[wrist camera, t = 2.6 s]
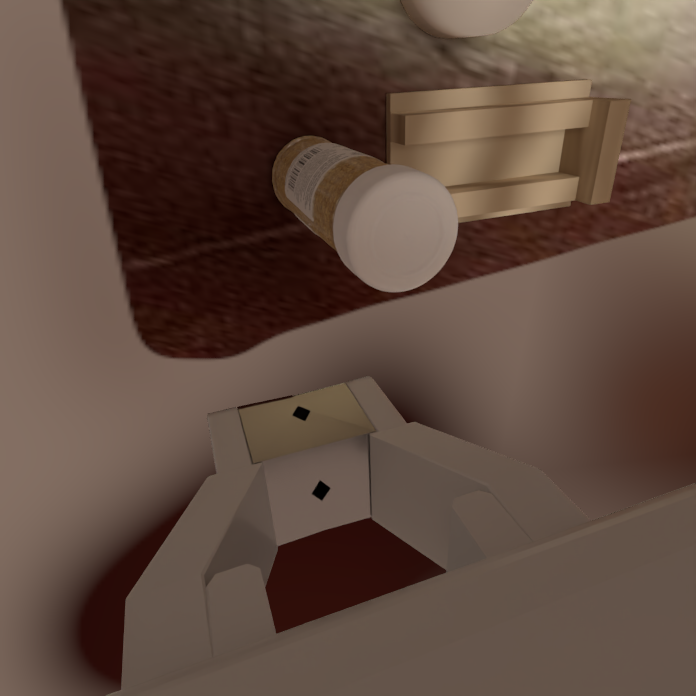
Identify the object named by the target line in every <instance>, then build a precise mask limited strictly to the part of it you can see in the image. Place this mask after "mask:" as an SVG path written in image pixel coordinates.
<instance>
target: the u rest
mask: <svg viewBox="0 0 696 696" xmlns="http://www.w3.org/2000/svg"><path fill="white" fill-rule="evenodd" d="M591 83H592V80H588V79H585V80H570V81H556V82H542V83H528V84H513V85H499V86H485V87H471V88H456V89H442V90H428V91H414V92H399V93H386V144H387V164H388V165H391V164H396V165H404V166H408V167H411V168H413V169H416V170H419V171H421V172H424V173H426V174H428V175H430V176H432V177H434V178H435V179H437V180H438V181H440V182H441V183H442V184H443V185H444V186H445V187H446V189H447V190H448V191H449V193H450V194H451V196H452V198H453V200H454V203H455V206H456V209H457V215H458V223H461V222H468V221H474V220H481V219H488V218H494V217H501V216H507V215H514V214H520V213H527V212H534V211H540V210H547V209H553V208H560V207H567V206H570V203H571V201H574V200H576V201H579V202H583V203H586V204H589V205H593V204H599V203H606V202H609V201H610V196H611V192H612V187H613V182H614V177H615V173H616V168H617V163H618V159H619V154H620V149H621V144H622V140H623V135H624V130H625V126H626V121H627V116H628V111H629V107H630V102H631V99H615V98H597V97H589V95H590V89H591Z"/></svg>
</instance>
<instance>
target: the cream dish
mask: <svg viewBox="0 0 696 696" xmlns="http://www.w3.org/2000/svg"><path fill="white" fill-rule="evenodd" d="M400 1H401V3H402V5H403V7H404V9H405V11H406V13H407V14H408V16H409V17H410V19H411V20H412V21H413V22H414V23H415V24H416V25H417V26H418V27H419V28H420V29H421V30H423V31H424V32H426V33H427V34H429V35H432V36H434V37H438V38H442V39H454V38H464V37H475V36H485V35H491V34H494V33H498V32H500V31H502V30H504V29H506V28H507V27H509V26H510V25H512V24H513V23H514V22H515V21H516V20H517V19H519V18H520V17H521V15H522V14H523V13H524V12H525V11H526V10H527V8H528V7H529V5H530V4H531V3H532V1H533V0H400Z"/></svg>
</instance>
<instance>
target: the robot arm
mask: <svg viewBox="0 0 696 696" xmlns="http://www.w3.org/2000/svg"><path fill="white" fill-rule="evenodd" d="M207 420H208V426H209V432H210V437H211V444H212V449H213V455H214V461H215V466H216V473H217V474H216V475H212V476H209V477H207V479H206V480H205V482H204V483H203V485H202V486H201V488H200V489H199V491H198V492H197V494H196V496H195V497H194V498H193V500H192V501H191V503H190V504H189V506H188V507H187V509H186V510H185V512H184V513H183V515H182V516H181V518H180V519H179V521H178V522H177V524H176V525H175V527H174V528H173V530H172V531H171V533H170V534H169V536H168V537H167V539H166V540H165V542H164V543H163V544H162V546H161V548H160V549H159V551H158V552H157V553H156V555H155V556H154V558H153V560H152V561H151V563H150V564H149V565H148V567H147V568H146V570H145V571H144V573H143V574H142V576H141V577H140V579H139V580H138V582H137V583H136V585H135V586H134V588H133V589H132V591H131V592H130V594H129V595H128V597H127V598H126V608H125V628H124V648H123V667H122V688H121V690H120V691H118V692H114V693H112V694H109V695H106V696H696V483H695V484H692V485H689V486H687V487H684V488H681V489H678V490H675V491H672V492H669V493H667V494H664V495H661V496H658V497H655V498H653V499H650V500H647V501H644V502H642V503H639V504H636V505H633V506H631V507H628V508H625V509H622V510H620V511H617V512H614V513H611V514H608V515H606V516H603V517H600V518H597V519H595V520H592V521H591V520H590V519H589V518H588V517H587V516H586V515H585V514H584V513H583V512H582V511H581V510H580V509H579V508H578V507H577V506H576V505H575V504H574V503H573V502H572V501H571V500H570V499H569V498H568V497H567V496H566V495H565V494H564V493H563V492H562V491H561V490H560V489H559V488H558V487H557V486H556V485H555V484H554V483H553V482H552V481H551V480H550V479H549V478H548V476H547V475H545V473H543V472H542V470H540V469H538V468H535V467H533V466H530V465H528V464H525V463H522V462H520V461H517V460H514V459H511V458H509V457H506V456H504V455H501V454H498V453H496V452H493V451H490V450H488V449H485V448H482V447H480V446H477V445H474V444H472V443H469V442H467V441H464V440H461V439H459V438H456V437H453V436H451V435H448V434H445V433H442V432H440V431H437V430H434V429H432V428H429V427H427V426H424V425H421V424H419V423H416V422H412V423H408V424H407V423H406V422H405V420H404V419H403V418H402V416H401V415H400V414H399V412H398V411H397V410H396V409H395V407H394V406H393V405H392V403H391V402H390V401H389V399H388V398H387V397H386V395H385V394H384V393H383V391H382V390H381V389H380V388H379V386H378V385H377V384H376V382H375V381H374V380H373V378H371V377H369V376H367V377H363V378H359V379H355V380H352V381H348V382H344V383H342V384H338V385H334V386H330V387H326V388H322V389H318V390H315V391H310V392H306V393H303V394H298V395H294V396H292V395H291V396H287V397H282V398H277V399H273V400H268V401H263V402H258V403H253V404H249V405H244V406H239V407H237V408H236V407H235V408H230V409H226V410H222V411H217V412H213V413H209V414H208V416H207ZM369 517H372V519H373V520H374V521H376V522H377V523H379V524H380V525H382V526H383V527H384V528H386V529H387V530H389V531H391V532H392V533H393V534H395V535H396V536H398V537H399V538H401V539H402V540H403V541H405V542H407V543H408V544H409V545H411V546H412V547H414V548H415V549H417V550H418V551H419V552H421V553H423V554H424V555H425V556H427V557H428V558H430V559H431V560H433V561H434V562H435V563H437V564H438V565H440V566H441V567H443V568H444V569H446V570H447V572H446V573H445V574H442V575H439V576H436V577H433V578H431V579H428V580H425V581H422V582H420V583H417V584H414V585H411V586H408V587H406V588H403V589H400V590H397V591H395V592H392V593H389V594H386V595H383V596H381V597H378V598H375V599H372V600H370V601H367V602H364V603H361V604H359V605H356V606H353V607H350V608H347V609H345V610H342V611H339V612H336V613H334V614H331V615H328V616H325V617H322V618H320V619H317V620H314V621H311V622H309V623H306V624H303V625H301V626H297V627H295V628H292V629H289V630H286V631H284V632H281V633H278V634H276V632H275V628H274V624H273V619H272V615H271V611H270V607H269V603H268V599H267V594H266V590H265V586H266V583H267V580H268V577H269V574H270V570H271V568H272V564H273V562H274V559H275V556H276V553H277V549H278V548H277V546H279V545H282V544H285V543H288V542H291V541H294V540H297V539H300V538H303V537H305V536H308V535H311V534H314V533H317V532H320V531H323V530H326V529H330V528H333V527H337V526H341V525H344V524H348V523H351V522H355V521H358V520H361V519H365V518H369Z"/></svg>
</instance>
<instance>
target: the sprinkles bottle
mask: <svg viewBox="0 0 696 696" xmlns="http://www.w3.org/2000/svg"><path fill="white" fill-rule="evenodd" d="M272 183H273V187H274V191H275V194H276V196H277V198H278V199H279V201H280V202H281V203H282V204H283V206H284V207H285V208H287V209H289V210H290V211H291V212H293V213H294V214H295V215H296V216H297V218H298V219H299V220H300V221H301V222H303V223H304V224H305V225H306V226H307V227H308V228H309V229H310V230H311V231H312V232H314V233H315V234H316V235H318V236H319V237H321V238H322V239H323V240H324V241H325V242H326V243H327V244H329V245H330V246H331V247H332V248H333V249H335V250H336V251H337V252H338V254H339V256H340V258H341V260H342V261H343V263H344V264H345V265H346V266H347V267H348V268H349V269H350V270H351V271H352V272H353V273H354V274H355V275H356V276H357V277H359V278H360V279H361V280H362V281H364V282H365V283H366V284H368V285H369V286H371V287H373V288H375V289H378V290H381V291H386V292H403V291H408V290H411V289H414V288H417V287H419V286H421V285H422V284H424V283H426V282H427V281H429V280H430V279H431V278H433V277H434V276H435V275H436V274H437V273H438V272H439V271H440V269H441V268H442V267H443V266H444V264H445V263H446V262H447V260H448V258H449V256H450V254H451V252H452V250H453V248H454V245H455V241H456V238H457V232H458V215H457V209H456V206H455V203H454V200H453V198H452V196H451V194H450V193H449V191H448V190H447V189H446V187H445V186H444V185H443V184H442V183H441V182H440V181H438V180H437V179H435V178H434V177H432V176H430V175H428V174H426V173H424V172H421V171H419V170H416V169H413V168H411V167H408V166H404V165H396V164H391V165H388V164H386V163H383V162H382V161H380V160H378V159H376V158H374V157H371V156H369V155H366V154H363V153H360V152H357V151H354V150H352V149H349V148H346V147H344V146H341V145H338V144H334V143H331V142H330V141H328V140H326V139H324V138H322V137H316V136H302V137H298V138H296V139H294V140H292V141H290V142H289V143H288V144H287V145H285V146H284V147H283V149H282V150H281V151H280V152H279V153H278V155H277V157H276V160H275V162H274V165H273V169H272Z"/></svg>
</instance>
